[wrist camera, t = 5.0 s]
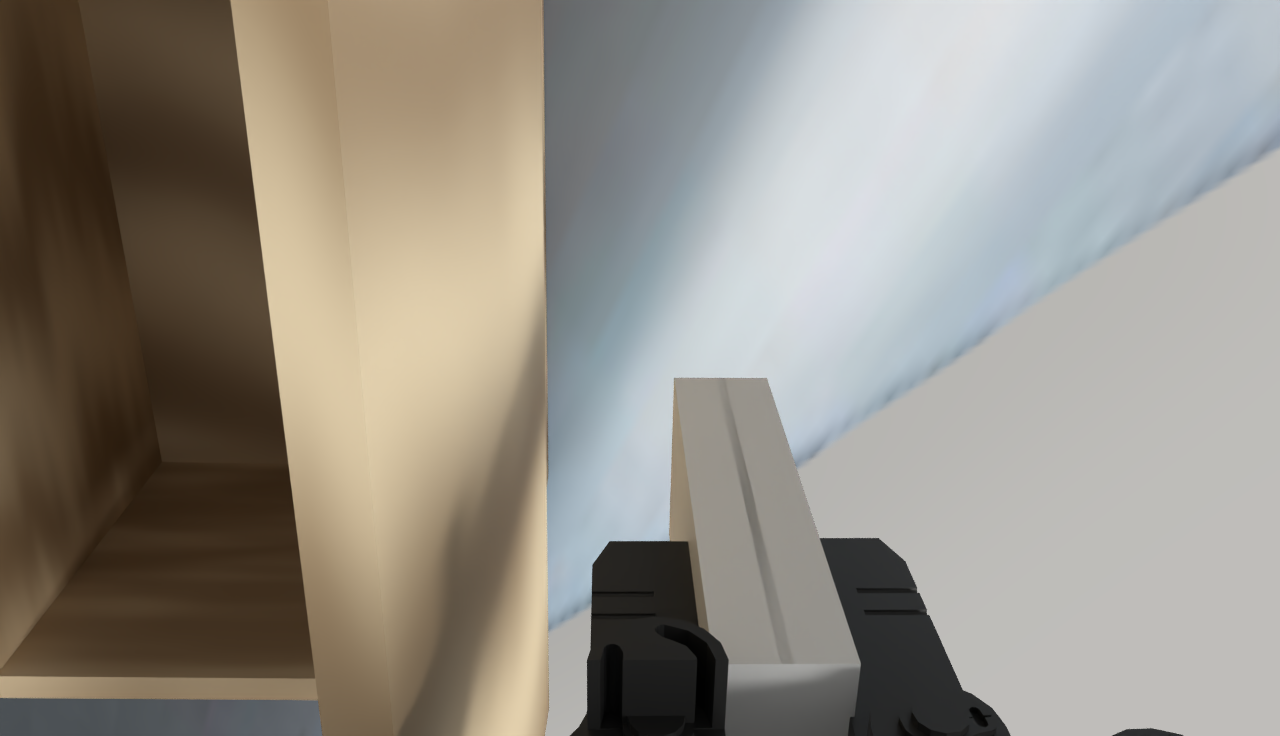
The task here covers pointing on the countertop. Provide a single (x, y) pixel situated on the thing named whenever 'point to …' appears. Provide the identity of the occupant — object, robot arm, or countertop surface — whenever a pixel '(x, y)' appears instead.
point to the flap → (409, 348)
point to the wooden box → (140, 367)
